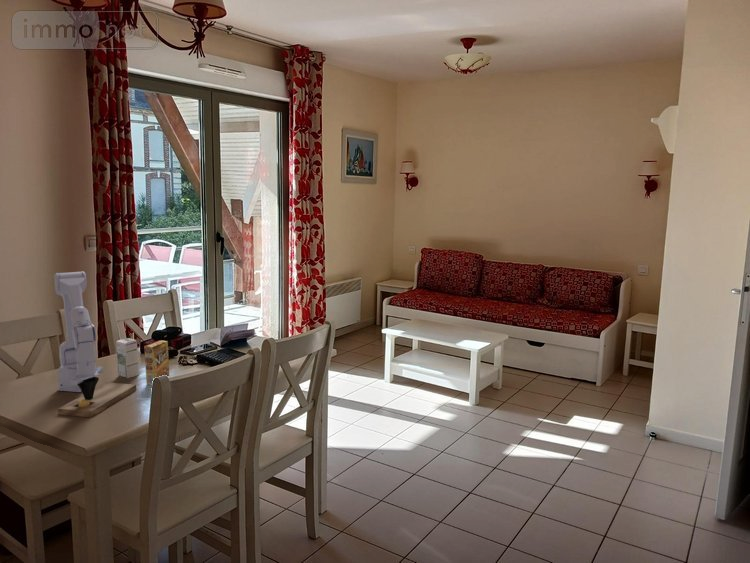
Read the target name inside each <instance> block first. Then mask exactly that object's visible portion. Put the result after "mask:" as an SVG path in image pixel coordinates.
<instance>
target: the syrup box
mask: <svg viewBox="0 0 750 563" xmlns="http://www.w3.org/2000/svg"><path fill="white" fill-rule="evenodd" d="M115 345H116V346H115V347H116V356H117V357H116V358H117V359H116V360H117V361H116V362H117V372H118V377H121V376H122V378H124V377H125V378H124V379H130V377H131V378H134V377H136V376H139V375H140V371H139V370H140V367H139V356H138V341H137V339H133V338H129V337H126V338H122V339H119V340H116V341H115Z"/></svg>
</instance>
